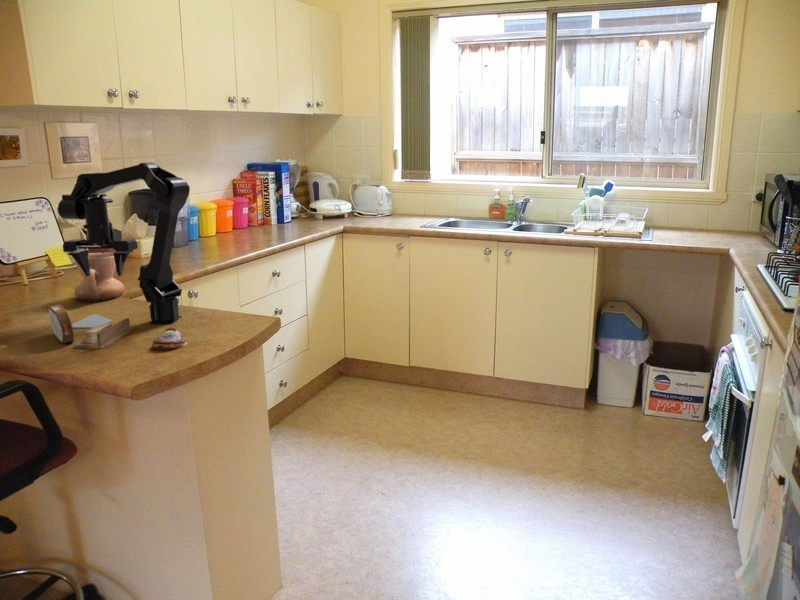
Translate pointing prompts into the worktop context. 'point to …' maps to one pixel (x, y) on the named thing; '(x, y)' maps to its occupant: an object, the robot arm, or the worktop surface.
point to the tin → (61, 323)
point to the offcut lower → (89, 339)
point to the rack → (108, 335)
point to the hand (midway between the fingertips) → (104, 276)
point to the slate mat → (90, 322)
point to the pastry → (169, 340)
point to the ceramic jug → (99, 279)
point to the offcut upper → (96, 329)
